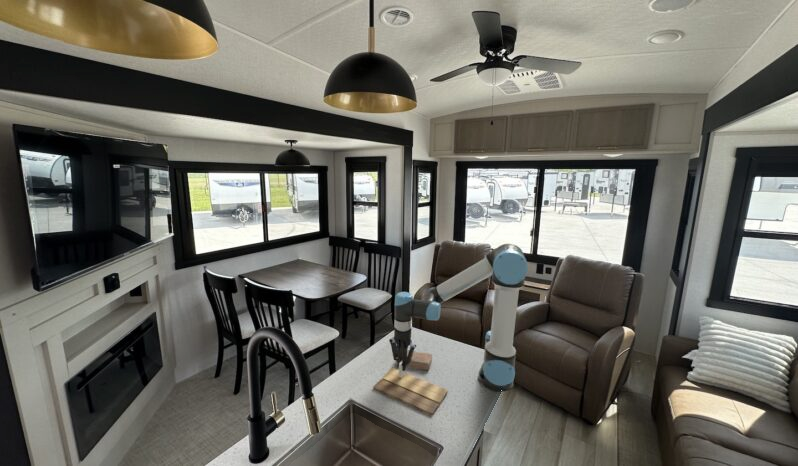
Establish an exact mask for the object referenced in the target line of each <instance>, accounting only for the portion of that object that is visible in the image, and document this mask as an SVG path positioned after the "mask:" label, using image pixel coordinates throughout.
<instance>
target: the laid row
mask: <svg viewBox="0 0 798 466" xmlns="http://www.w3.org/2000/svg"><path fill="white" fill-rule="evenodd" d="M372 389H373V390H375V391H377V392H379V393H381V394H383V395H386V396H387V397H390V398H391V399H394V400H396V401H398V402H401V403H403V404H404V405H407V406H409V407H410V408H414V409H416V410H418V411H419V412H422V413H424V414H426V415H428V416H431V417H433V416H434V415H435V413H436V411H438V408H439V407H440V405H439V404H438V403H435V402H433V401H431V400H428V399H426V398H424V397H422V396H419V395H417V394H415V393H412V392H410V391H408V390H405V389H403V388H401V387H399V386H396V385H394V384H392V383H389V382H387V381H385V380H382V378H381V379H379V380H378V381H377V382H376V383H375V384H374V385H373V386H372Z"/></svg>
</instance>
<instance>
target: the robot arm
mask: <svg viewBox="0 0 798 466" xmlns="http://www.w3.org/2000/svg"><path fill="white" fill-rule="evenodd" d="M528 269H529V266H528V261H527V259H526V257H525V254H524V252H523V250H522V249H521V247H519V246H518V245H516V244H514V243H504V244H501V245H499V246H497V247H496V248H494V249H493V250H491V251H490V252H488V253H487V254H485V255H484V258H482V259H481V260H479V261H478V262H475V264H473V265H471V266H469V267H467V268H466V269H464V270H462V271H460V272H459V273H458V274H455V275H454V276H452V277H451V278H449V279H447V280H446V281H444V282H442V283H439V285H437V286H435V287H430V288H428V290H427V291H426V292H425V293H424V295H423V297H422V299H415V298H414V297H413V294H412V293H411V292H407V291H401V292H400V291H399V292H398V293H396V295H395V296H394V297H395V299H394V325H393V326H394V328H393V333H394V334H393V336H392V337H391V338H390V339H389V340H388V341H389V344H390V347H391V352H392V357H393V360H394V361H395V362H396V361H397V364H396V365H397V367H396V368H397V370H399V377H400V378H402V377H403V376H404V375H405V373H406V370H407V367H406V365H408V364H409V363H410V362H411V359H412V355H413V352H414V351H415V349H416V348H417V344H414V343H413V342H412V326H413V325H412V323H413V322H412V321H413V318H415V319H417V318H418V319H422V320H427V321H439V319H440V317H441V312H442V311H441V309H442V308H441V304H442V303H445V302H446V301H448V300H449V299H451V298H454V297H455V296H456V295H458V294H461V293H462V292H464V291H466V290H468V289H469V288H472V287H473V286H475V285H477V284H478V283H481V282H482V281H484V280H486V279H487V278H490V277H491V283H492V284H493V285H494V296H493V305H492V307H493V308H492V315H491V316H492V317H491V326H490V330H488V331H487V332H486V333H485V337H484V339H485V341H484V350H483V351H484V352H483V353H484V354H483V362H482V364H481V366H480V369H479V371H478V381H479V382H480V383H481V385H482V386H483V387H485V388H487V389H489V390H491V391H495V392H507V391H510V390H511V389H513V387H514V381H515V380H514V379H515V375H516V371H515V370H516V369H515V365H516V364H515V363H516V356H517V349H516V348H515V346H514V337H515V336H514V335H515V328H516V327H515V326H516V319H517V318H516V317H517V310H518V300H519V294H520V293H519V292H520V289H522V288H524V287H525V279H526V277H527V273H528V271H529V270H528ZM408 348H409V353H408V356H407V350H408ZM501 390H502V391H501Z"/></svg>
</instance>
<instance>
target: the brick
mask: <svg viewBox="0 0 798 466" xmlns="http://www.w3.org/2000/svg"><path fill="white" fill-rule="evenodd" d="M409 350H410V349H409ZM409 350H408V349H407V356H408V353H409ZM432 361H433V355H432V353H428V352H419V351H415V350H414V352H413V355H412V359H411V362H410V363H409V364H408V365H406V368H412V369H416V370H422V371H429V370H430V369H431V367H432ZM395 364H396V365H397V361H396V360H395Z"/></svg>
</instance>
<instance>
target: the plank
mask: <svg viewBox="0 0 798 466" xmlns="http://www.w3.org/2000/svg"><path fill="white" fill-rule="evenodd" d="M381 379H382V380H385V381H387V382H389V383H392V384H394V385H396V386H399V387H401V388H403V389H405V390H408V391H410V392H412V393H415V394H417V395H419V396H422V397H424V398H426V399H428V400H431V401H433V402H435V403H438V404H439V406H440V405H441V404H442V403H443V400H444V399H445V398H446V396H447V394H448V389H446V388H444V387H441V386H438V385H436V384H434V383H431V382H429V381H426V380H424V379H421V378H419V377H416V376H413V375H412V374H409V373H406V372H405V375H404V376H403V377H402V378H400V377H399V369H398V368H397V369H396V368H394V367H391V368H390V369H389V370H388V371H387V373H385V374H384V376H383V377H382V378H381Z"/></svg>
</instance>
